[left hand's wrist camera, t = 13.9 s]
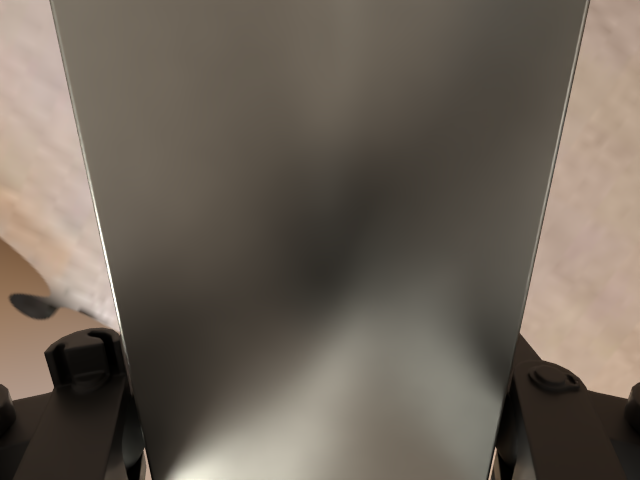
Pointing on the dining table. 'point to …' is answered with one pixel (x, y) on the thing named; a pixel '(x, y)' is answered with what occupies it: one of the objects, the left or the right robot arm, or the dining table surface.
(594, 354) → the dining table surface
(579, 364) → the dining table surface
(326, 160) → the bar
